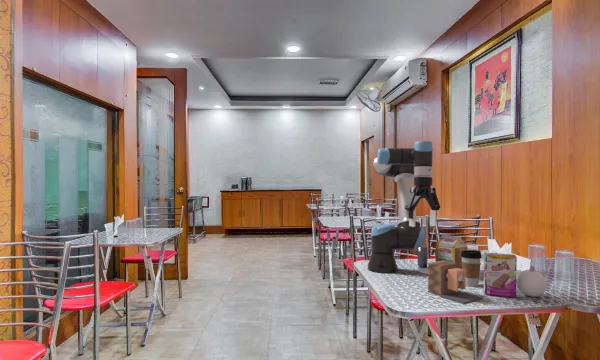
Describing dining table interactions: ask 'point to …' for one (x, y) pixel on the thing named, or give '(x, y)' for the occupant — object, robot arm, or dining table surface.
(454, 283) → the spacer
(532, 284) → the ornament
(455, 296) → the mat
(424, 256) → the shaft
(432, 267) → the brown notched block
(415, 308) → the dining table surface
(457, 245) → the milk carton
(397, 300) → the dining table surface
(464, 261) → the coffee cup
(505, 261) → the candy bar box
